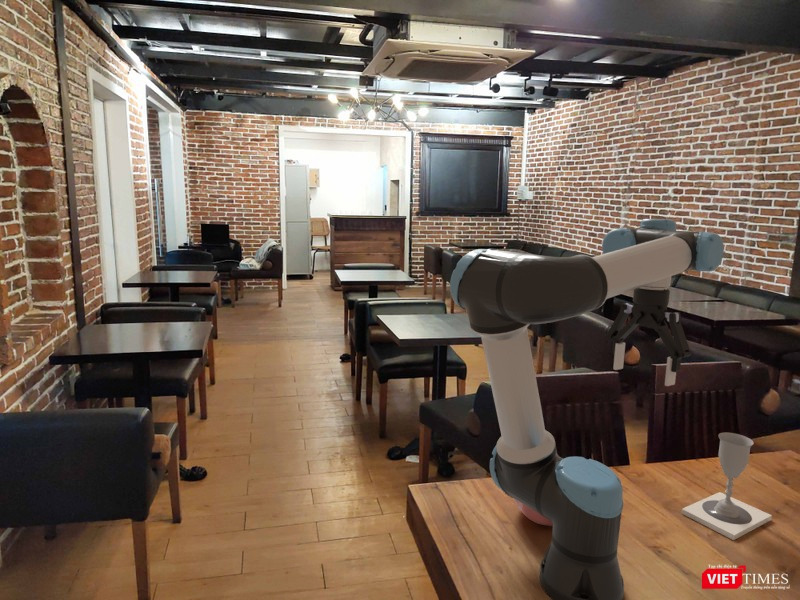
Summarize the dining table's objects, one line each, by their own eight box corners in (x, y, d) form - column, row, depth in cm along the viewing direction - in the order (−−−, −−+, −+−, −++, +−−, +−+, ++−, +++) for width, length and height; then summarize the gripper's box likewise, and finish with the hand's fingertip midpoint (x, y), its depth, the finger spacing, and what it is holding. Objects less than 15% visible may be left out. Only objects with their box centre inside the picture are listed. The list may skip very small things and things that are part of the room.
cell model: (498, 528, 122) (501, 480, 120) (522, 488, 140) (525, 446, 138) (577, 551, 115) (581, 501, 113) (592, 506, 132) (596, 462, 130)
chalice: (750, 520, 125) (760, 446, 122) (720, 520, 125) (729, 445, 122) (731, 503, 132) (741, 432, 129) (703, 502, 132) (712, 432, 129)
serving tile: (733, 540, 120) (734, 534, 120) (681, 513, 130) (681, 508, 130) (771, 520, 128) (771, 514, 128) (719, 496, 138) (719, 491, 138)
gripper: (715, 294, 117) (704, 389, 121) (616, 279, 138) (608, 361, 142) (695, 296, 113) (683, 395, 117) (596, 280, 134) (589, 364, 138)
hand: (642, 376), depth 129 cm, fingers open, 13 cm apart
